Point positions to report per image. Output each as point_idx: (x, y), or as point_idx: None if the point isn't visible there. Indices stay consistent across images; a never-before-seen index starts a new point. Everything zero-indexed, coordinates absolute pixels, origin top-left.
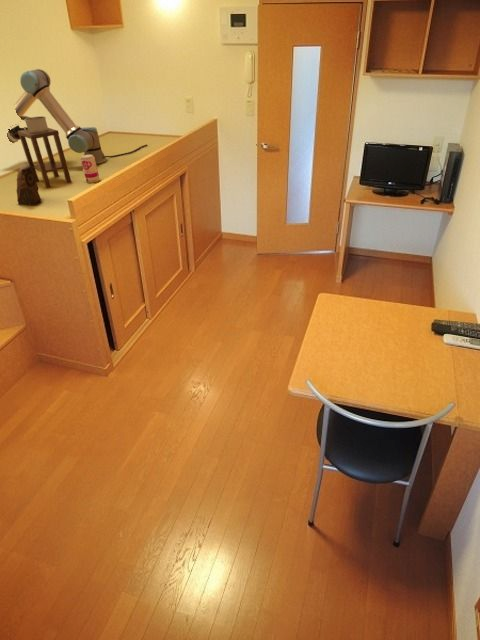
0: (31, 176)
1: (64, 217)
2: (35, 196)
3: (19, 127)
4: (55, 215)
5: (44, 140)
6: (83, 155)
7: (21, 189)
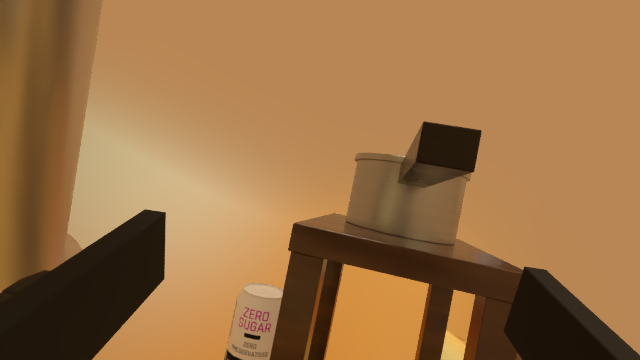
0: None
1: (445, 337)
2: None
3: (516, 298)
4: (457, 349)
5: (313, 327)
6: (262, 297)
7: None
